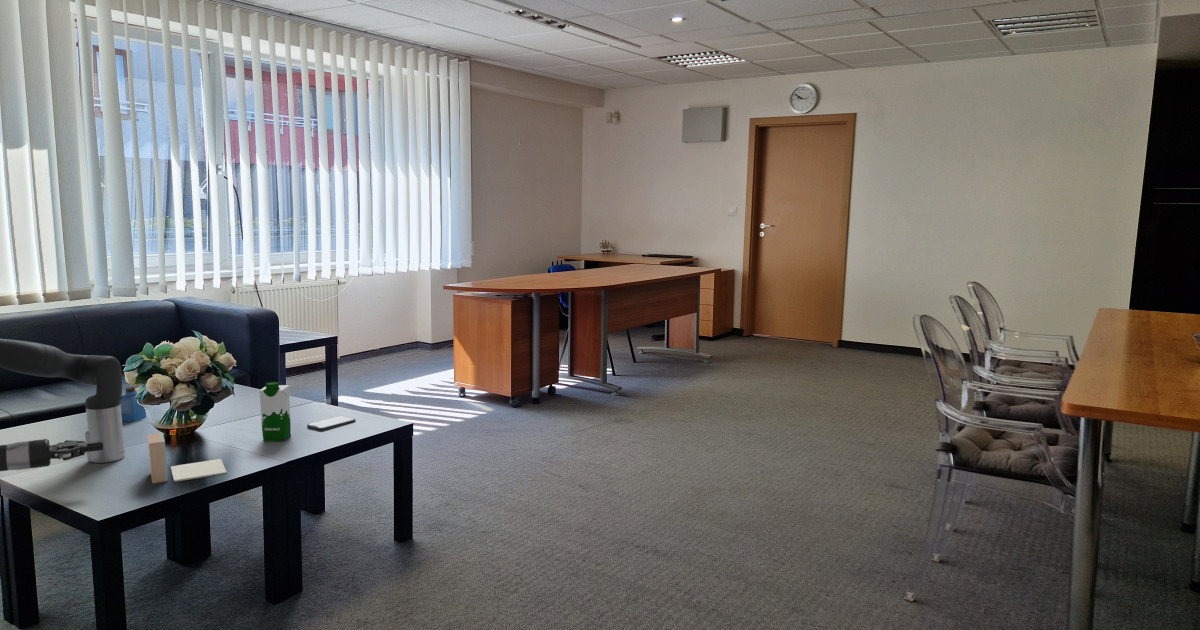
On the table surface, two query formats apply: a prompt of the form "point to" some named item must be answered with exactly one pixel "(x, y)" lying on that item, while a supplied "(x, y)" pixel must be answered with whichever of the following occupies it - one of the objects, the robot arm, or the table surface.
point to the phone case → (330, 423)
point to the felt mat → (198, 470)
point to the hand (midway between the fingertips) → (103, 445)
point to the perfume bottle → (131, 406)
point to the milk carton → (275, 412)
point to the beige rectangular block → (157, 458)
